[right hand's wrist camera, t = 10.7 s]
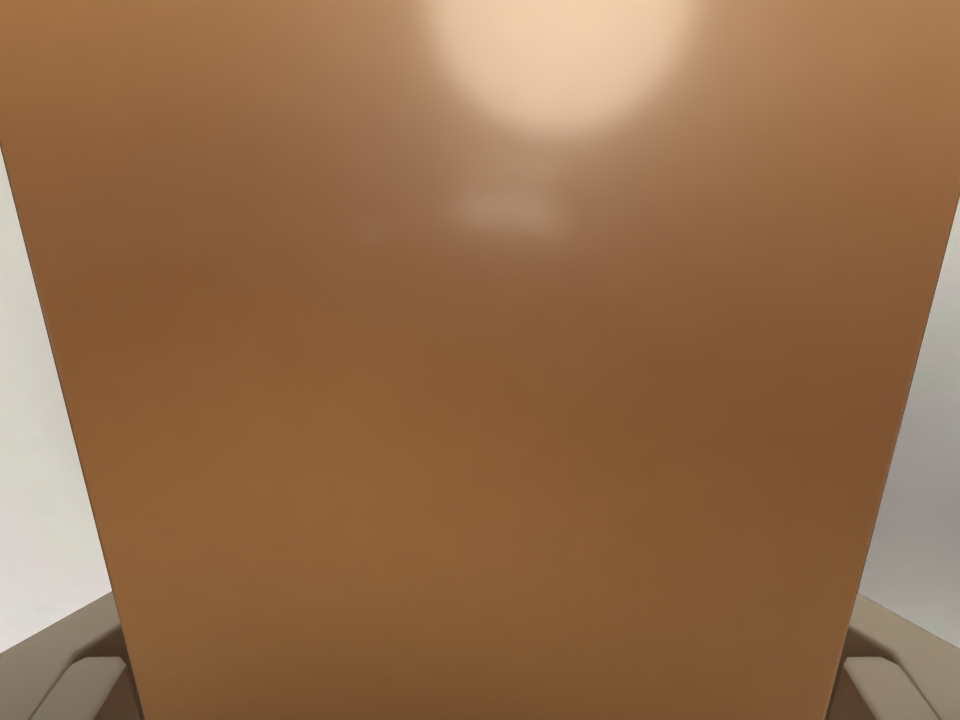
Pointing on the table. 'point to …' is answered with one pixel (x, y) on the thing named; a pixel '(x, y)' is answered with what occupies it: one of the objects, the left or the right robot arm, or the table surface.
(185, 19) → the bar
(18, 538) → the table surface
